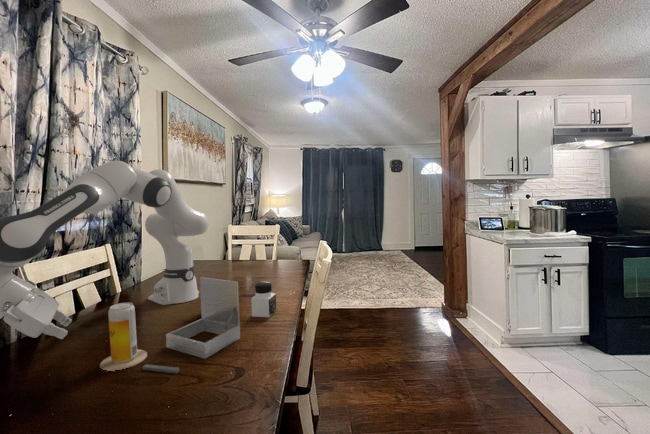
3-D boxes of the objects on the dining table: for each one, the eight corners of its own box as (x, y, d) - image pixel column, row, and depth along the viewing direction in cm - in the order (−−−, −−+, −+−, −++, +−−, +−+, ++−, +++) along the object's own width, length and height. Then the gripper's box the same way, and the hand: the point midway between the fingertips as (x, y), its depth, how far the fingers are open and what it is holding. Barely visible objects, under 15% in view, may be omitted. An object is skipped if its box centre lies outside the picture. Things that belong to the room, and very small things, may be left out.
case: (166, 347, 93) (163, 288, 92) (203, 329, 106) (201, 277, 105) (205, 358, 86) (202, 294, 85) (240, 338, 99) (238, 281, 98)
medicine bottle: (269, 317, 115) (268, 285, 114) (251, 316, 116) (250, 285, 116) (276, 310, 122) (275, 280, 121) (259, 310, 123) (258, 280, 123)
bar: (142, 371, 81) (142, 366, 81) (146, 368, 83) (146, 364, 83) (176, 374, 79) (176, 370, 79) (179, 372, 80) (179, 367, 80)
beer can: (119, 354, 89) (116, 302, 88) (141, 352, 90) (138, 301, 89) (106, 365, 83) (102, 310, 82) (130, 363, 84) (127, 308, 83)
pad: (90, 365, 84) (90, 364, 84) (131, 347, 94) (131, 346, 94) (115, 375, 79) (115, 373, 79) (155, 355, 89) (155, 354, 89)
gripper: (12, 297, 65) (74, 331, 71) (31, 279, 82) (81, 308, 88) (-18, 323, 63) (50, 356, 69) (9, 299, 80) (61, 327, 86)
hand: (67, 329), depth 79 cm, fingers open, 8 cm apart
